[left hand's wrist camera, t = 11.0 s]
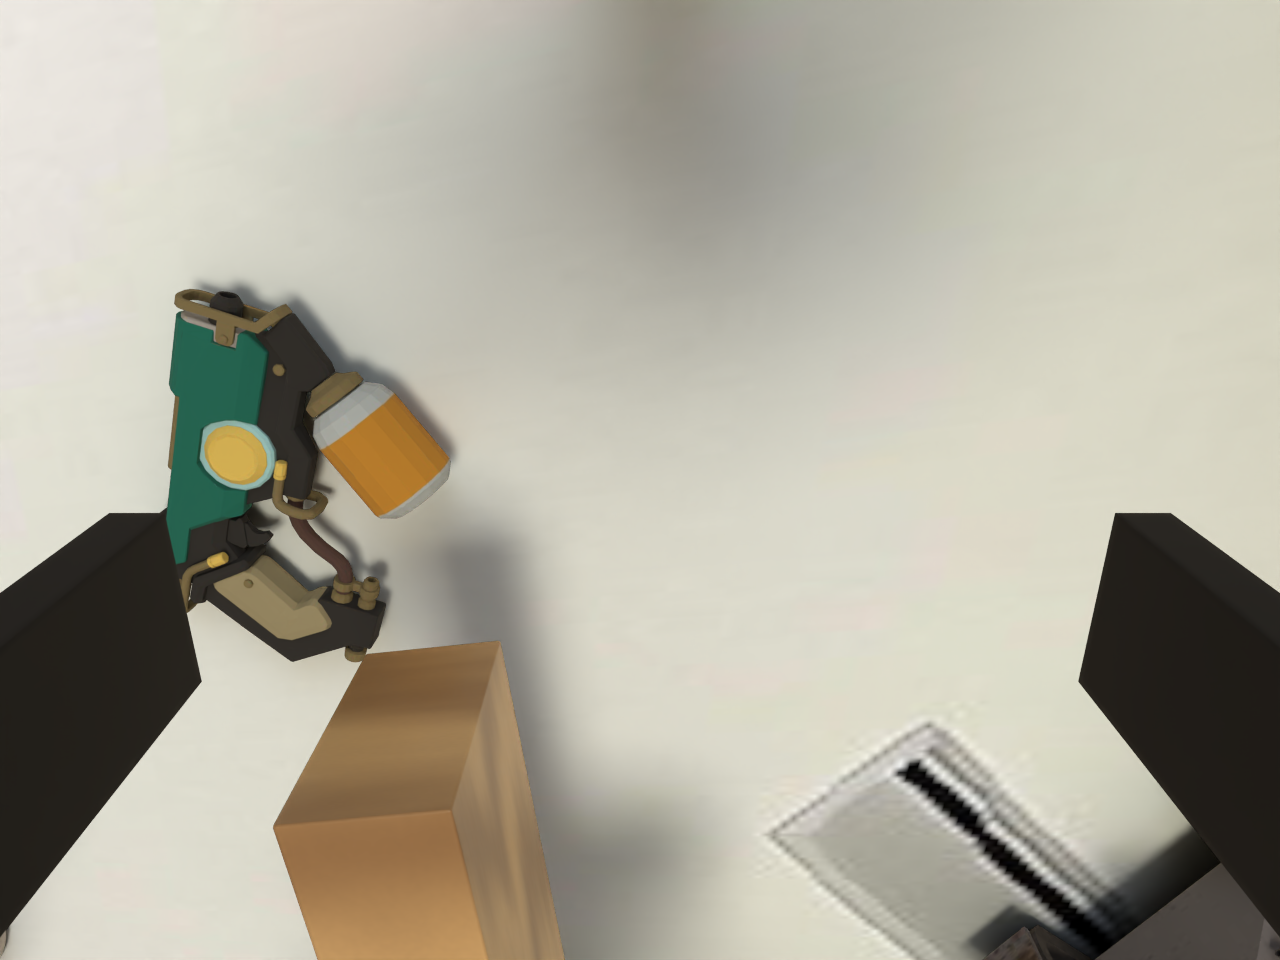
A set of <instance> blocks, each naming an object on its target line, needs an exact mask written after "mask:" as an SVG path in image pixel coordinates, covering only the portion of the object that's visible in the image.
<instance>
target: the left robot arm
mask: <svg viewBox="0 0 1280 960" xmlns="http://www.w3.org/2000/svg"><path fill="white" fill-rule="evenodd" d="M201 682H202V681H201V676H200V672H199V667H198V663H197V658H196V654H195V649H194V644H193V640H192V635H191V631H190V626H189V622H188V617H187V612H186V608H185V603H184V599H183V594H182V590H181V585H180V580H179V576H178V571H177V567H176V562H175V558H174V553H173V548H172V544H171V539H170V535H169V530H168V526H167V521H166V516H165V513H109V514H107V515H106V516H105V517H103V518H102V519H101V520H99V521H98V522H97V523H95V524H94V525H92V526H91V527H90V528H88V529H87V530H86V531H84V532H83V533H82V534H80V535H79V536H77V537H76V538H75V539H73V540H72V541H71V542H69V543H68V544H67V545H65V546H64V547H62V548H61V549H60V550H58V551H57V552H56V553H54V554H53V555H52V556H50V557H49V558H47V559H46V560H45V561H43V562H42V563H41V564H39V565H38V566H37V567H35V568H34V569H32V570H31V571H30V572H28V573H27V574H26V575H24V576H23V577H22V578H20V579H19V580H17V581H16V582H15V583H13V584H12V585H11V586H9V587H8V588H6V589H5V590H4V591H2V592H1V593H0V937H1V936H2V935H3V933H4V932H5V931H6V929H7V928H8V927H9V926H10V924H11V923H12V922H13V921H14V919H15V918H16V917H17V916H18V914H19V913H20V912H21V910H22V909H23V908H24V907H25V905H26V904H27V903H28V902H29V900H30V899H31V898H32V896H33V895H34V894H35V893H36V891H37V890H38V889H39V888H40V886H41V885H42V884H43V882H44V881H45V880H46V879H47V877H48V876H49V875H50V874H51V872H52V871H53V870H54V868H55V867H56V866H57V865H58V863H59V862H60V861H61V860H62V858H63V857H64V856H65V854H66V853H67V852H68V851H69V849H70V848H71V847H72V846H73V844H74V843H75V842H76V841H77V839H78V838H79V837H80V835H81V834H82V833H83V832H84V830H85V829H86V828H87V827H88V825H89V824H90V823H91V821H92V820H93V819H94V818H95V816H96V815H97V814H98V813H99V811H100V810H101V809H102V807H103V806H104V805H105V804H106V802H107V801H108V800H109V799H110V797H111V796H112V795H113V793H114V792H115V791H116V790H117V788H118V787H119V786H120V785H121V783H122V782H123V781H124V780H125V778H126V777H127V776H128V774H129V773H130V772H131V771H132V769H133V768H134V767H135V766H136V764H137V763H138V762H139V760H140V759H141V758H142V757H143V755H144V754H145V753H146V752H147V750H148V749H149V748H150V746H151V745H152V744H153V743H154V741H155V740H156V739H157V738H158V736H159V735H160V734H161V732H162V731H163V730H164V729H165V727H166V726H167V725H168V724H169V722H170V721H171V720H172V718H173V717H174V716H175V715H176V713H177V712H178V711H179V710H180V708H181V707H182V706H183V705H184V703H185V702H186V701H187V699H188V698H189V697H190V696H191V694H192V693H193V692H194V691H195V689H196V688H197V687H198V685H199V684H200V683H201ZM1078 682H1079V683H1080V684H1081V685H1082V687H1083V688H1084V689H1085V691H1086V692H1087V693H1088V694H1089V696H1090V697H1091V698H1092V699H1093V701H1094V702H1095V703H1096V705H1097V706H1098V707H1099V708H1100V710H1101V711H1102V712H1103V713H1104V715H1105V716H1106V717H1107V718H1108V720H1109V721H1110V722H1111V724H1112V725H1113V726H1114V727H1115V729H1116V730H1117V731H1118V732H1119V734H1120V735H1121V736H1122V738H1123V739H1124V740H1125V741H1126V743H1127V744H1128V745H1129V746H1130V748H1131V749H1132V750H1133V752H1134V753H1135V754H1136V755H1137V757H1138V758H1139V759H1140V760H1141V762H1142V763H1143V764H1144V766H1145V767H1146V768H1147V769H1148V771H1149V772H1150V773H1151V774H1152V776H1153V777H1154V778H1155V780H1156V781H1157V782H1158V783H1159V785H1160V786H1161V787H1162V788H1163V790H1164V791H1165V792H1166V793H1167V795H1168V796H1169V797H1170V799H1171V800H1172V801H1173V802H1174V804H1175V805H1176V806H1177V807H1178V809H1179V810H1180V811H1181V813H1182V814H1183V815H1184V816H1185V818H1186V819H1187V820H1188V821H1189V823H1190V824H1191V825H1192V827H1193V828H1194V829H1195V830H1196V832H1197V833H1198V834H1199V835H1200V837H1201V838H1202V839H1203V841H1204V842H1205V843H1206V844H1207V846H1208V847H1209V848H1210V849H1211V851H1212V852H1213V853H1214V854H1215V856H1216V857H1217V858H1218V860H1219V861H1220V862H1221V863H1222V865H1223V866H1224V867H1225V868H1226V870H1227V871H1228V872H1229V874H1230V875H1231V876H1232V877H1233V879H1234V880H1235V881H1236V882H1237V884H1238V885H1239V886H1240V888H1241V889H1242V890H1243V891H1244V893H1245V894H1246V895H1247V896H1248V898H1249V899H1250V900H1251V902H1252V903H1253V904H1254V905H1255V907H1256V908H1257V909H1258V910H1259V912H1260V913H1261V914H1262V916H1263V917H1264V918H1265V919H1266V921H1267V922H1268V923H1269V924H1270V926H1271V927H1272V928H1273V929H1274V931H1275V932H1276V933H1277V935H1278V936H1279V937H1280V593H1279V592H1278V591H1276V590H1275V589H1274V588H1272V587H1271V586H1269V585H1268V584H1267V583H1265V582H1264V581H1263V580H1261V579H1260V578H1258V577H1257V576H1256V575H1254V574H1253V573H1252V572H1250V571H1249V570H1248V569H1246V568H1245V567H1243V566H1242V565H1241V564H1239V563H1238V562H1237V561H1235V560H1234V559H1233V558H1231V557H1230V556H1228V555H1227V554H1226V553H1224V552H1223V551H1222V550H1220V549H1219V548H1218V547H1216V546H1215V545H1213V544H1212V543H1211V542H1209V541H1208V540H1207V539H1205V538H1204V537H1203V536H1201V535H1200V534H1198V533H1197V532H1196V531H1194V530H1193V529H1192V528H1190V527H1189V526H1188V525H1186V524H1185V523H1183V522H1182V521H1181V520H1179V519H1178V518H1177V517H1175V516H1174V515H1173V514H1171V513H1115V516H1114V521H1113V526H1112V530H1111V535H1110V539H1109V544H1108V548H1107V553H1106V558H1105V562H1104V567H1103V571H1102V576H1101V580H1100V585H1099V590H1098V594H1097V599H1096V603H1095V608H1094V612H1093V617H1092V622H1091V626H1090V631H1089V635H1088V640H1087V644H1086V649H1085V654H1084V658H1083V663H1082V667H1081V672H1080V676H1079V681H1078Z"/></svg>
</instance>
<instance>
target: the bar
mask: <svg viewBox="0 0 1280 960" xmlns="http://www.w3.org/2000/svg"><path fill="white" fill-rule="evenodd" d="M273 829H274V832H275V835H276V838H277V841H278V844H279V847H280V850H281V853H282V856H283V859H284V862H285V865H286V867H287V870H288V873H289V876H290V879H291V882H292V885H293V888H294V891H295V894H296V897H297V900H298V903H299V906H300V909H301V912H302V915H303V918H304V921H305V924H306V927H307V929H308V932H309V935H310V938H311V941H312V944H313V947H314V950H315V953H316V956H317V959H318V960H565V958H564V953H563V948H562V943H561V938H560V933H559V928H558V924H557V919H556V914H555V909H554V904H553V899H552V894H551V889H550V884H549V879H548V874H547V869H546V864H545V859H544V855H543V850H542V845H541V840H540V835H539V830H538V825H537V820H536V815H535V810H534V805H533V800H532V795H531V790H530V786H529V781H528V776H527V771H526V766H525V761H524V756H523V751H522V746H521V741H520V736H519V731H518V726H517V721H516V717H515V712H514V707H513V702H512V697H511V692H510V687H509V682H508V677H507V672H506V667H505V662H504V657H503V652H502V648H501V643H500V641H491V642H481V643H471V644H462V645H452V646H442V647H432V648H422V649H412V650H403V651H393V652H383V653H373V654H367V655H365V657H364V659H363V661H362V663H361V664H360V666H359V668H358V670H357V672H356V674H355V675H354V677H353V679H352V681H351V683H350V685H349V687H348V688H347V690H346V692H345V694H344V696H343V698H342V700H341V701H340V703H339V705H338V707H337V709H336V711H335V712H334V714H333V716H332V718H331V720H330V722H329V724H328V725H327V727H326V729H325V731H324V733H323V735H322V737H321V738H320V740H319V742H318V744H317V746H316V748H315V749H314V751H313V753H312V755H311V757H310V759H309V761H308V762H307V764H306V766H305V768H304V770H303V772H302V774H301V775H300V777H299V779H298V781H297V783H296V785H295V786H294V788H293V790H292V792H291V794H290V796H289V798H288V799H287V801H286V803H285V805H284V807H283V809H282V810H281V812H280V814H279V816H278V818H277V820H276V822H275V823H274V826H273Z"/></svg>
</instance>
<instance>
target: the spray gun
mask: <svg viewBox="0 0 1280 960" xmlns="http://www.w3.org/2000/svg"><path fill="white" fill-rule="evenodd" d="M189 300H200V301H205V302H208V303H210V307H207V306H204V305H201V304H198V303H195V302H192V301H189ZM174 304H175V305H176V306H177V307H178V308H180V309H183V310H184V311H181V312H178V313H177V314H176V322H175V332H174V341H173V351H172V360H171V370H170V379H169V386H170V389H171V390H172V392H173V393H174V395H175V403H174V413H173V422H172V432H171V442H170V451H169V461H168V467H169V468H170V469H171V479H170V488H169V498H168V507H167V508H165V509H164V510H163V511H162V512H160V513H165V516H166V521H167V526H168V530H169V535H170V539H171V544H172V548H173V553H174V558H175V562H176V567H177V571H178V576H179V580H180V585H181V590H182V594H183V599H184V603H185V608H186V612H187V613H188V612H189V611H190V610H191V609H193V608H194V607H195V606H196V605H197V603H204V602H205V601H206V600H208V601H209V602H211V603H212V604H213V605H215V606H216V607H217V608H219V609H220V610H221V611H223V612H224V613H225V614H227V615H228V616H229V617H231V618H232V619H233V620H235V621H236V622H237V623H239V624H240V625H241V626H243V627H244V628H245V629H247V630H248V631H250V632H251V633H252V634H254V635H255V636H256V637H258V638H259V639H261V640H262V641H263V642H265V643H266V644H268V645H269V646H270V647H272V648H273V649H275V650H276V651H277V652H279V653H280V654H282V655H283V656H284V657H286V658H287V659H289V660H290V661H292V662H294V661H297V660H301V659H304V658H308V657H311V656H315V655H318V654H321V653H325V652H328V651H332V650H335V649H339V648H342V647H346V648H345V658H346V659H347V660H349V661H351V662H360V661H362V660H363V659H364V657H365V654H366V652H367V648H368V649H370V648H371V647H372V646H373V644H374V642H375V641H376V639H377V637H378V635H379V631H380V627H381V623H382V619H383V615H384V611H385V607H386V604H385V603H384V602H381V601H377V600H375V599H376V598H377V597H378V595H379V591H380V586H379V580H378V579H377V578H375V577H367V578H366V579H364V582H363V583H362V582H358V581H356V580H355V577H354V576H353V572H352V567H351V565H350V563H349V561H348V560H347V559H346V558H345V557H344V556H343V555H342V554H341V553H339V552H338V551H337V550H335V549H334V548H333V547H331V546H330V545H329V544H327V543H326V542H325V541H324V540H323V539H322V538H321V537H320V536H319V535H318V534H317V533H316V532H315V531H314V530H313V529H312V527H311V526H310V525H309V523H308V521H307V519H314V518H315V517H317V516H318V515H319V514H320V513H322V512H323V511H324V509H325V507H326V505H327V503H328V498H327V497H325V496H324V495H323V494H322V493H320V492H317V491H313V490H311V488H312V482H313V477H314V471H315V466H316V460H317V455H318V452H317V450H316V448H315V446H314V444H313V442H312V440H311V438H310V436H309V434H308V432H307V430H306V428H305V426H304V424H303V415H304V407H305V400H306V393H307V391H308V392H311V391H312V393H311V398H310V400H309V402H308V405H307V407H306V411H307V412H308V413H309V415H310V416H311V417H313V418H314V417H316V416H317V418H316V419H315V420H314V429H313V437H314V439H315V441H316V443H317V445H318V447H319V449H320V451H321V452H322V453H323V454H324V455H325V456H326V458H327V459H328V460H329V461H330V462H331V464H332V465H333V466H334V467H335V468H336V469H337V471H338V472H339V473H340V474H341V475H342V476H343V478H344V479H345V480H346V481H347V482H348V484H349V485H350V486H351V487H352V488H353V489H354V491H355V492H356V493H357V494H358V495H359V496H360V498H361V499H362V500H363V501H364V502H365V504H366V505H367V506H368V507H369V508H370V509H371V511H372V512H373V513H374V514H375V515H376V516H377V517H379V518H399V517H402V516H403V515H405V514H407V513H409V512H410V511H412V510H413V509H415V508H416V507H417V506H419V505H420V504H422V503H423V502H424V501H425V500H426V499H428V498H429V497H430V496H431V495H432V494H433V493H434V492H436V491H437V490H438V489H439V488H440V487H441V486H442V485H443V484H444V483H445V481H446V480H447V479H448V477H449V471H450V459H449V457H448V456H447V455H446V454H445V452H444V451H443V450H442V449H441V448H440V446H439V445H438V444H437V443H436V442H435V441H434V439H433V438H432V437H431V436H430V435H429V433H428V432H427V431H426V430H425V429H424V428H423V426H422V425H421V424H420V423H419V422H418V420H417V419H416V418H415V417H414V416H413V415H412V413H411V412H410V411H409V410H408V409H407V407H406V406H405V405H404V404H403V403H402V401H401V400H400V399H399V398H398V397H397V396H396V394H395V393H394V392H392V391H391V390H389V389H388V388H387V387H385V386H384V385H382V384H379V383H370V382H364V383H362V384H360V383H361V382H362V381H363V378H362V377H361V376H360V375H359V373H358V372H349V373H335V374H333V373H334V372H336V371H335V369H334V367H333V364H332V362H331V361H330V360H329V358H328V357H327V356H326V354H325V353H324V352H323V350H322V349H321V348H320V346H319V345H318V344H317V343H316V341H315V340H314V339H313V337H312V336H311V335H310V333H309V332H308V331H307V329H306V328H305V327H304V325H303V324H302V323H301V322H300V320H299V319H298V318H297V316H296V315H295V314H293V313H292V311H291V309H290V308H289V307H288V306H287V305H286V304H284V305H282V306H280V307H278V308H276V309H274V310H272V311H270V312H267V311H264V310H261V309H258V308H255V307H252V306H248V305H245V304H243V302H242V301H241V299H240V298H239V296H238V295H236V294H234V293H230V292H223V291H222V292H218V293H217V294H212V293H209V292H206V291H201V290H195V289H188V290H183V291H181V292H179V293H177V294H176V295H175V303H174ZM253 318H257V319H259V320H258V321H256V322H253ZM269 326H272V328H271V329H270V330H269V331H268V330H267V329H266V328H268V327H269ZM332 374H333V375H332ZM331 375H332V376H331ZM329 376H331V377H329ZM328 377H329V378H328ZM327 378H328V379H327ZM326 379H327V380H326ZM324 380H325V381H324ZM323 381H324V382H323ZM322 382H323V383H322ZM319 384H320V385H319ZM318 385H319V386H318ZM314 388H315V389H314ZM283 495H285V496H286V497H287V498H288V503H286V502H285V501H284V500H283ZM271 498H273V503H274V505H275V507H276V508H277V509H278V510H280V511H281V512H282V513H284V514H286V515H288V516H289V518H290V521H291V523H292V526H293V527H294V529H295V531H296V532H297V534H298V535H299V537H300V538H301V539H302V540H303V541H304V542H305V543H306V544H307V545H308V546H309V547H310V548H311V549H312V550H313V551H314V552H315V553H317V554H318V555H319V556H321V557H322V558H323V559H325V560H326V561H327V562H329V563H330V564H331V565H332V566H333V567H334V568H335V569H336V570H337V573H338V574H337V575H336V576H335V577H334V582H333V587H331V586H330V587H325V586H323V587H319V588H317V589H315V590H312V591H308V590H307V589H306V588H304V587H303V586H302V585H301V584H300V583H299V582H298V581H297V580H295V579H294V578H293V577H292V576H291V575H290V574H289V573H288V572H287V571H285V570H284V569H283V568H282V567H281V566H280V565H279V564H278V563H276V562H275V561H274V560H273V559H272V558H270V557H269V556H266V555H262V554H263V553H264V552H265V550H266V545H264V543H265V542H267V541H269V540H270V539H271V537H272V536H273V534H272V533H271V532H270V530H269V531H260V530H258V529H257V528H255V527H254V525H253V524H252V522H251V521H249V518H248V516H247V514H244V513H245V512H246V511H247V510H249V509H250V508H251V507H252V503H254V502H258V501H263V500H267V499H271ZM305 499H308V500H312V501H316V502H317V503H316V504H315V505H314V506H313V507H312V508H311V509H303V500H305ZM241 515H242V516H241ZM247 545H249V546H248V547H246V546H247ZM191 583H193V585H192V590H191ZM190 590H191V595H190ZM352 591H356V592H359V594H360V595H358V594H354V593H353V592H352ZM189 596H190V600H189ZM188 600H189V601H188Z"/></svg>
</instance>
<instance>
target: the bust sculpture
mask: <svg viewBox="0 0 1280 960" xmlns="http://www.w3.org/2000/svg"><path fill="white" fill-rule="evenodd" d="M5 943H6V931H5V932H4V933H3V935H2V936H1V937H0V957H1V955H2V953H3V950H4V947H5Z"/></svg>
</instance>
